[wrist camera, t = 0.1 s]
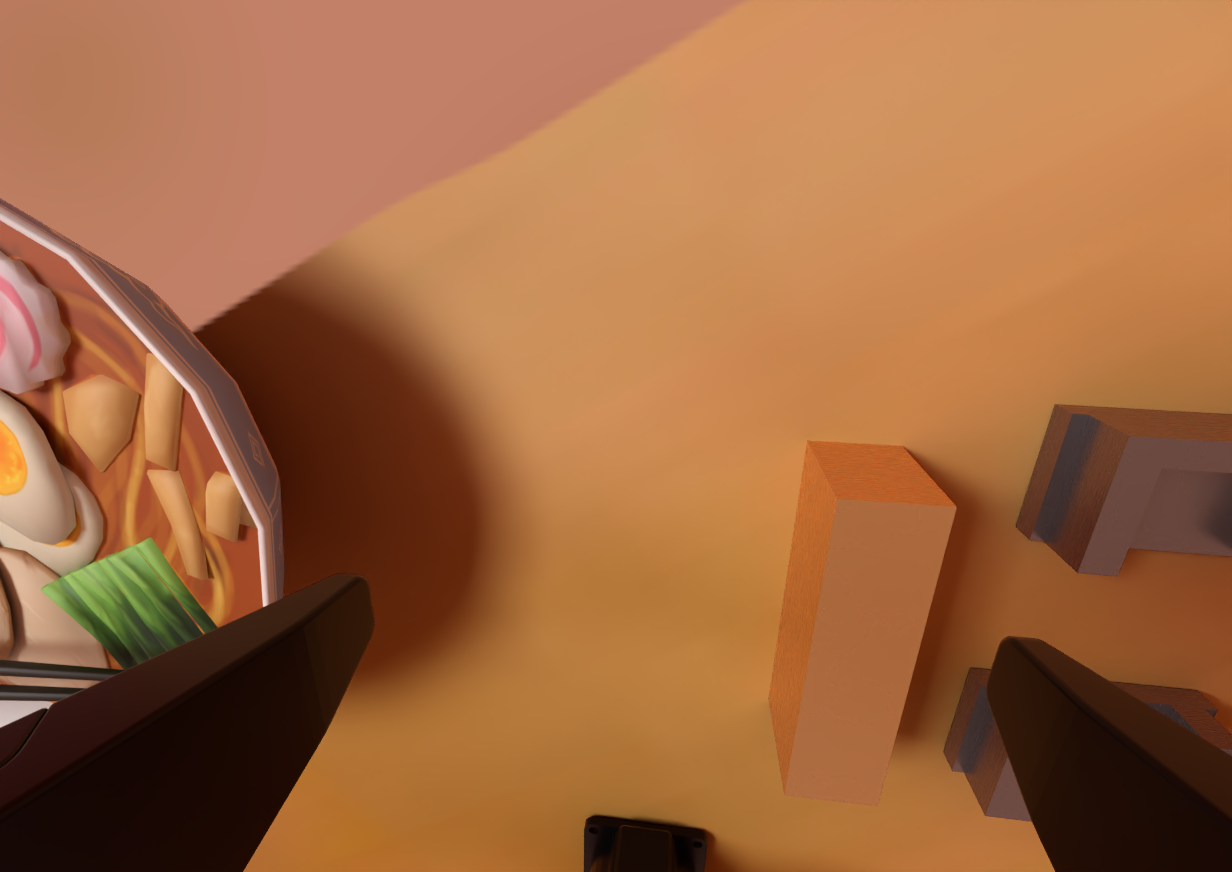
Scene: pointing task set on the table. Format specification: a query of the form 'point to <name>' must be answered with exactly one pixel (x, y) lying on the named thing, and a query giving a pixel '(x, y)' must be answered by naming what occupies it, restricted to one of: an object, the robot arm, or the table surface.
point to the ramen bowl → (116, 476)
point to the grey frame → (1110, 547)
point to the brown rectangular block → (853, 615)
